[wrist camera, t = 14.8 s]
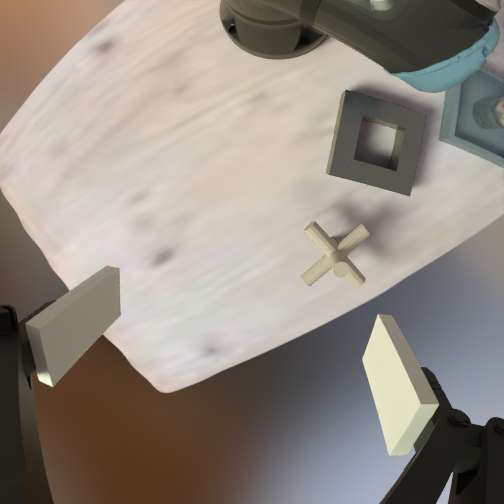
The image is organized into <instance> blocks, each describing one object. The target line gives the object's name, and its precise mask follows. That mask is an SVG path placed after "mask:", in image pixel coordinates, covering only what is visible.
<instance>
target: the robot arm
mask: <svg viewBox="0 0 504 504" xmlns="http://www.w3.org/2000/svg"><path fill="white" fill-rule="evenodd" d="M500 9H501V5H500V0H221V3H220V18H221V22H222V25H223V27H224V29H225V31H226V32H227V34H228V36H229V37H230V39H231V40H232V41H233V42H234V43H235V44H236V45H237V46H238V47H240V48H241V49H243V50H244V51H246V52H248V53H250V54H252V55H255V56H258V57H262V58H267V59H289V58H294V57H298V56H301V55H303V54H306V53H308V52H310V51H311V50H313V49H314V48H316V47H317V46H318V45H319V44H320V43H321V42H322V41H323V40H324V39H325V38H326V36H327V35H329V36H331V37H333V38H335V39H337V40H338V41H340V42H342V43H344V44H346V45H347V46H349V47H351V48H353V49H354V50H356V51H358V52H359V53H361V54H363V55H364V56H366V57H368V58H369V59H371V60H372V61H374V62H376V63H377V64H379V65H380V66H382V67H383V68H384V70H385V71H386V72H387V73H388V74H390V75H393V76H396V77H399V78H400V79H402V80H403V81H405V82H406V83H408V84H409V85H411V86H412V87H414V88H415V89H417V90H419V91H423V92H429V93H437V92H442V91H445V90H448V89H450V88H452V87H454V86H456V85H458V84H460V83H461V82H463V81H464V80H466V79H467V78H468V77H470V76H471V75H472V74H473V73H475V72H476V71H477V70H478V69H479V68H480V67H481V66H482V65H483V64H484V63H485V61H486V58H485V57H486V56H487V55H489V54H490V53H492V52H493V50H494V49H495V47H496V45H497V43H498V40H499V35H500V32H499V26H498V24H497V22H496V20H495V18H494V16H495V15H496V14H497V12H498V11H499V10H500ZM120 315H121V312H120V268H115V267H111V266H106V267H104V268H103V269H101V270H100V271H98V272H97V273H96V274H94V275H93V276H91V277H90V278H88V279H87V280H85V281H84V282H82V283H81V284H79V285H78V286H77V287H75V288H74V289H72V290H71V291H69V292H68V293H67V294H65V295H64V296H63V297H61V298H60V299H58V300H54V301H51V302H48V303H46V304H44V305H43V306H41V307H40V308H39V309H37V310H36V311H34V313H31V314H30V315H29V316H28V317H26V318H24V319H23V320H22V321H20V322H19V323H18V321H17V315H16V311H15V308H14V307H12V306H10V305H0V504H54V503H53V499H52V495H51V491H50V487H49V483H48V479H47V475H46V470H45V466H44V461H43V456H42V450H41V445H40V440H39V433H38V426H37V418H36V410H35V401H34V390H33V380H32V376H31V374H32V373H33V372H34V370H36V371H37V375H38V378H39V381H41V382H44V383H46V384H48V385H50V386H54V385H55V384H56V383H57V382H58V381H59V379H60V378H61V377H62V376H63V375H64V374H65V373H66V372H67V371H68V370H69V369H70V367H72V365H73V364H74V363H75V362H76V361H77V360H78V359H79V358H80V357H81V356H82V355H83V354H84V353H85V352H86V351H87V349H89V347H90V346H91V345H92V344H93V343H94V342H95V341H96V340H97V339H98V338H99V337H100V336H101V335H102V334H103V333H104V332H105V331H106V330H107V329H108V328H109V327H110V326H111V325H112V324H113V323H114V322H115V320H116V319H117V318H118V317H119V316H120ZM362 360H363V363H364V367H365V370H366V373H367V377H368V380H369V383H370V387H371V390H372V394H373V397H374V401H375V404H376V408H377V411H378V415H379V419H380V422H381V426H382V430H383V433H384V437H385V441H386V445H387V449H388V453H389V456H399V455H407V454H408V452H409V451H410V450H411V448H412V446H413V445H414V448H415V451H416V454H415V455H414V456H413V458H412V459H411V460H410V462H409V463H408V464H407V466H406V467H405V469H404V471H403V472H402V474H401V475H400V477H399V478H398V480H397V481H396V482H395V484H394V485H393V487H392V488H391V489H390V491H389V492H388V493H387V494H386V496H385V497H384V499H383V500H382V501H381V502H380V504H436V502H437V501H438V499H439V497H440V495H441V493H442V491H443V489H444V487H445V485H446V483H447V481H448V479H449V477H450V475H451V473H452V472H453V478H452V484H451V490H450V495H449V501H448V504H504V419H501V418H498V417H493V418H491V419H490V420H488V422H487V423H486V425H485V426H481V425H475V424H471V421H470V419H469V417H468V416H467V415H466V414H465V413H464V412H462V411H460V410H457V409H453V408H452V407H451V404H450V403H449V401H448V399H447V397H446V395H445V393H444V391H443V390H442V388H441V386H440V384H438V383H439V382H438V380H437V379H436V377H435V375H434V374H433V373H432V372H431V371H430V370H429V369H428V368H424V367H420V365H419V364H418V362H417V360H416V358H415V357H414V354H413V353H412V351H411V349H410V347H409V345H408V344H407V342H406V340H405V338H404V336H403V335H402V333H401V331H400V329H399V327H398V326H397V324H396V322H395V320H394V319H393V317H392V316H389V315H382V314H378V316H377V320H376V322H375V325H374V328H373V331H372V334H371V337H370V340H369V343H368V345H367V348H366V351H365V354H364V357H363V359H362Z"/></svg>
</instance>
